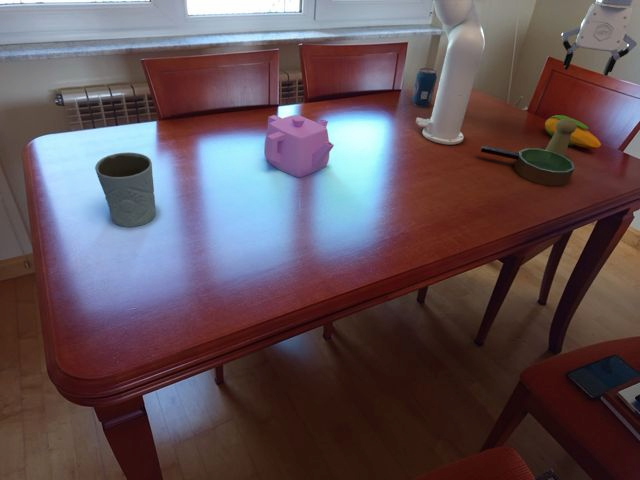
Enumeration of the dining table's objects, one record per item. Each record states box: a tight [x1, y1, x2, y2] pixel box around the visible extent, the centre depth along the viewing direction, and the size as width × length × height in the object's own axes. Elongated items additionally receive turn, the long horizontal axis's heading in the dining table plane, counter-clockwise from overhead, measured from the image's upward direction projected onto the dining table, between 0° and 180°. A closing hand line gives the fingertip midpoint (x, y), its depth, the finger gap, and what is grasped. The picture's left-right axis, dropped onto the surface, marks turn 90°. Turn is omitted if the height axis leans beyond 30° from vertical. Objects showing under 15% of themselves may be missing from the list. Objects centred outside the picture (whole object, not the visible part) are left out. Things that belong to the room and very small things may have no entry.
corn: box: [544, 114, 602, 150], centre depth 137 cm, size 7×8×20 cm
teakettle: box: [264, 114, 335, 178], centre depth 111 cm, size 17×17×12 cm
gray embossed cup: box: [94, 152, 157, 228], centre depth 87 cm, size 10×10×12 cm
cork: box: [544, 119, 577, 157], centre depth 128 cm, size 6×6×11 cm
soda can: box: [411, 67, 438, 108], centre depth 156 cm, size 7×7×12 cm
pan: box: [480, 144, 575, 187], centre depth 121 cm, size 24×14×4 cm, turn 69°
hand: (585, 71), depth 116 cm, fingers open, 9 cm apart
